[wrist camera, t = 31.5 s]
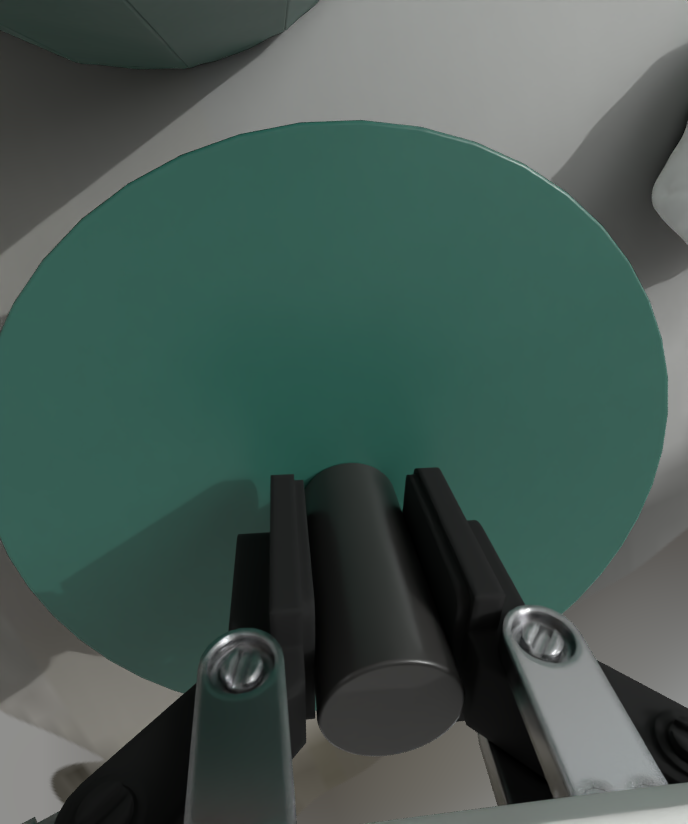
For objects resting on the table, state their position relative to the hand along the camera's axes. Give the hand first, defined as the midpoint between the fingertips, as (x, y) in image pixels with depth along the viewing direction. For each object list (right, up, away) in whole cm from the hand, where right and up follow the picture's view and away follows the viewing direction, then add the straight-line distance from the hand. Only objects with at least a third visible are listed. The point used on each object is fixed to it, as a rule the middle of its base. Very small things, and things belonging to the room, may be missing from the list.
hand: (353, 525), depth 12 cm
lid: (0, +1, +1) cm, 2 cm away
